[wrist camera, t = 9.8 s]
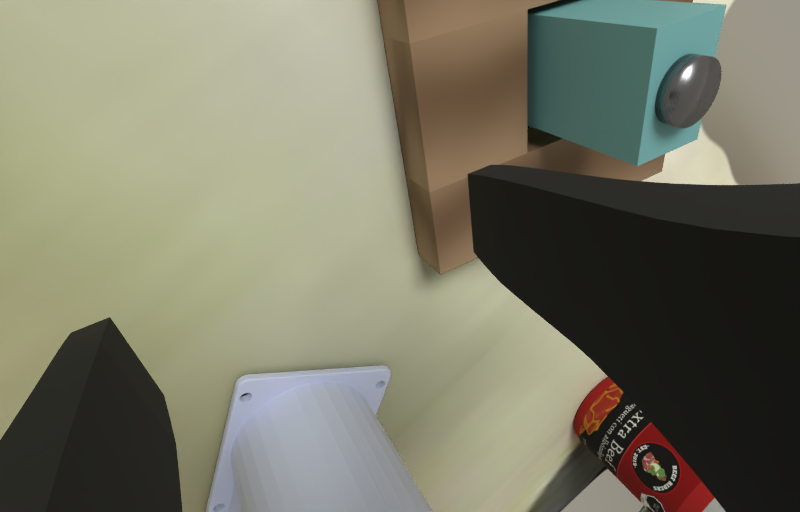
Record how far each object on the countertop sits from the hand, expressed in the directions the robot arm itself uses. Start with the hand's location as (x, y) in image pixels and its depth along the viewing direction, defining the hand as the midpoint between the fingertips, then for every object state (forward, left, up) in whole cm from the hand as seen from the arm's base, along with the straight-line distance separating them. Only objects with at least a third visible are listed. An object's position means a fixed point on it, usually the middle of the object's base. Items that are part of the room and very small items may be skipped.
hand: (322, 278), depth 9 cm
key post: (+6, -12, -9) cm, 16 cm away
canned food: (-16, -34, -10) cm, 39 cm away
